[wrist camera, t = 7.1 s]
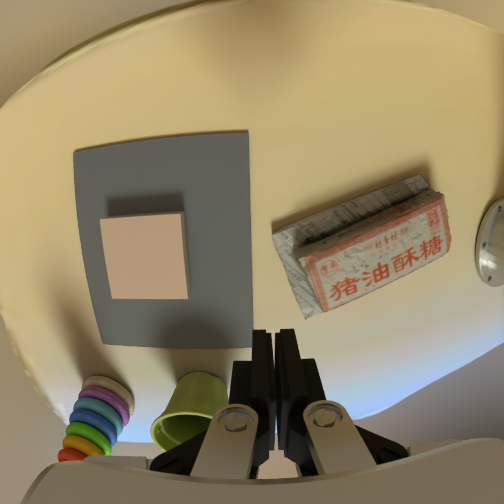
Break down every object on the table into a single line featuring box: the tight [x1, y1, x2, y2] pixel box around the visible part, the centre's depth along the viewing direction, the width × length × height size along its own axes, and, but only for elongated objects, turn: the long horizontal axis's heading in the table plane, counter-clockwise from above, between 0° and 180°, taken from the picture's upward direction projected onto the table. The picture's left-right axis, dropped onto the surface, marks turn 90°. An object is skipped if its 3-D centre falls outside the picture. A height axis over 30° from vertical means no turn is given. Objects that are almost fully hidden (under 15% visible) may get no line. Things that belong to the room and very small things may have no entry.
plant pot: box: [150, 372, 229, 452], centre depth 28 cm, size 9×9×9 cm
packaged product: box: [272, 174, 451, 320], centre depth 26 cm, size 18×5×10 cm
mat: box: [73, 133, 253, 348], centre depth 28 cm, size 18×22×1 cm
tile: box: [100, 211, 191, 299], centre depth 26 cm, size 2×8×8 cm
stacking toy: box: [58, 376, 135, 462], centre depth 24 cm, size 8×8×19 cm
